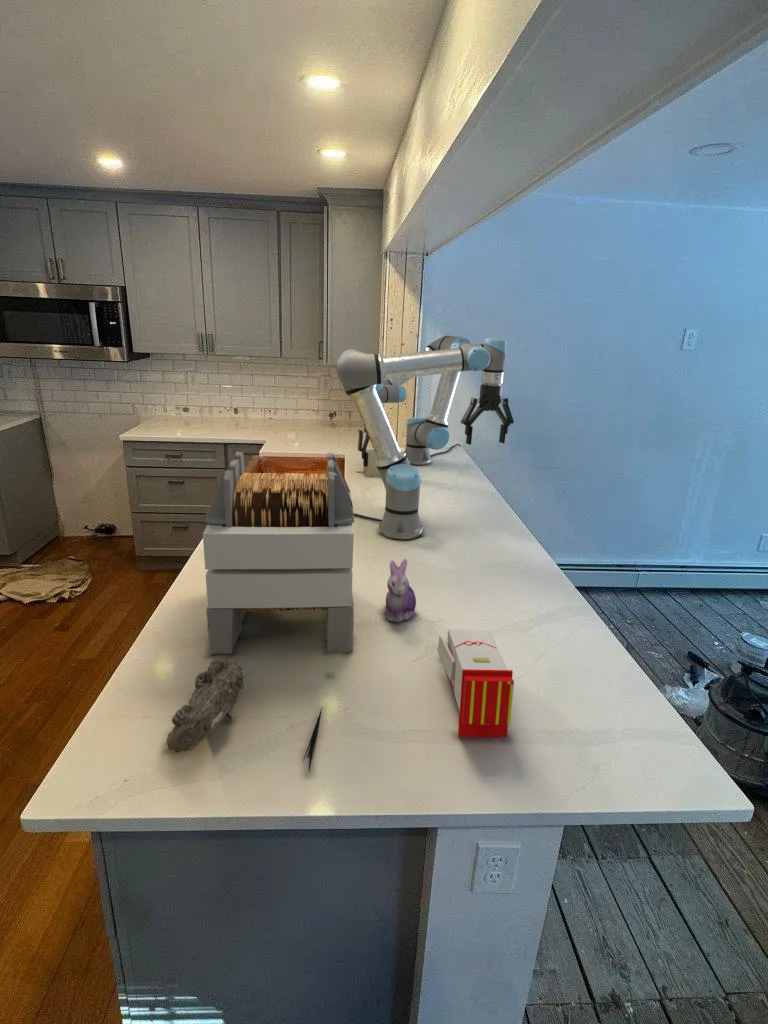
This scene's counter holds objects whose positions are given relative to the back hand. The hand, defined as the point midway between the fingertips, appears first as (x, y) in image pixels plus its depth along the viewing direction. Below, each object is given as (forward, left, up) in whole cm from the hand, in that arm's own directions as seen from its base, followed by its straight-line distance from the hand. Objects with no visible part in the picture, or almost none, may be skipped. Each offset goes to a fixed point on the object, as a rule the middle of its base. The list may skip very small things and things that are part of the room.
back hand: (371, 465), depth 267 cm
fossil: (+172, +13, -5) cm, 173 cm away
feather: (+167, +33, -5) cm, 170 cm away
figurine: (+124, +39, -5) cm, 130 cm away
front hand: (+45, +53, +25) cm, 74 cm away
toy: (+151, +60, -5) cm, 162 cm away
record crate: (+134, +12, -5) cm, 134 cm away
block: (0, 0, -5) cm, 5 cm away
